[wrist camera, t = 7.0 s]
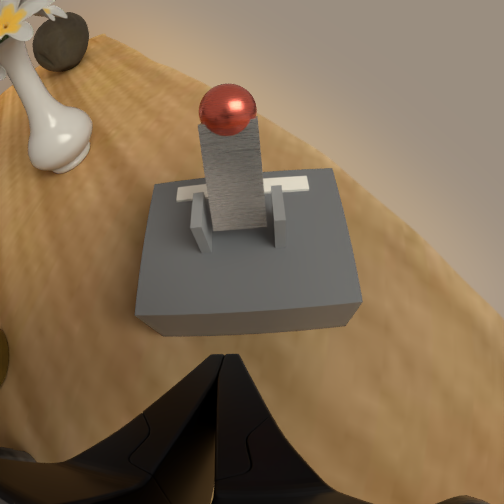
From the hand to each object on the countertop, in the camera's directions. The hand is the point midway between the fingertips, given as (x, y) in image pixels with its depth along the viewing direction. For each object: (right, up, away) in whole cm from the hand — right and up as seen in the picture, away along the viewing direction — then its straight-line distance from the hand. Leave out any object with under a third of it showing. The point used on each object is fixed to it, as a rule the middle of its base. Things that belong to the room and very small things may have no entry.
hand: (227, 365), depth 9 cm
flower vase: (-22, +15, +24) cm, 36 cm away
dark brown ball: (-42, +48, +44) cm, 77 cm away
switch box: (+1, +2, +14) cm, 15 cm away
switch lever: (0, +5, +9) cm, 10 cm away
